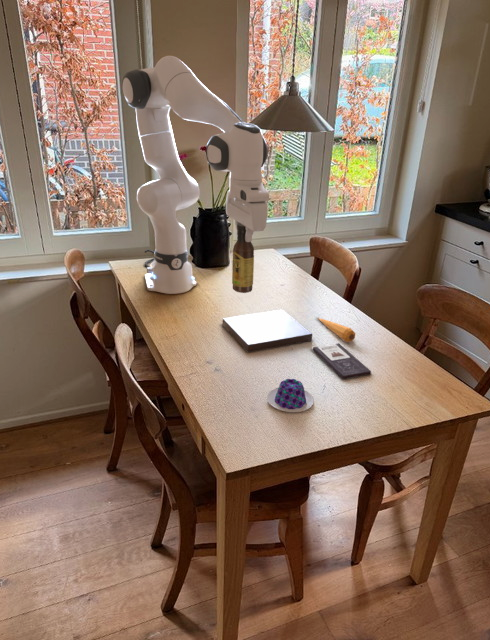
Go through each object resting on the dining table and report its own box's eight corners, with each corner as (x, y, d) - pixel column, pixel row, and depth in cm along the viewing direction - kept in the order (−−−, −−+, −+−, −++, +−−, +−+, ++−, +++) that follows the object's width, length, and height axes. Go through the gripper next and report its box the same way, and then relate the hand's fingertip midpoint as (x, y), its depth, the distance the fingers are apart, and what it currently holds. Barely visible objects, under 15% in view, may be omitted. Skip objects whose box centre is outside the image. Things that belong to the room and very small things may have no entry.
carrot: (354, 345, 168) (359, 331, 167) (343, 342, 165) (349, 328, 164) (319, 325, 184) (324, 313, 183) (309, 322, 181) (314, 310, 180)
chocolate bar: (343, 376, 147) (313, 347, 161) (342, 379, 147) (312, 350, 161) (370, 371, 150) (338, 343, 164) (370, 374, 151) (338, 346, 165)
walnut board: (222, 325, 173) (222, 318, 172) (281, 316, 182) (282, 309, 181) (248, 352, 158) (248, 344, 157) (311, 340, 167) (312, 333, 166)
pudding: (323, 406, 135) (325, 389, 133) (284, 419, 129) (285, 401, 127) (295, 384, 144) (297, 367, 141) (257, 395, 138) (258, 378, 135)
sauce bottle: (230, 287, 162) (230, 221, 153) (250, 286, 164) (252, 220, 154) (234, 294, 157) (235, 226, 147) (255, 293, 158) (257, 226, 149)
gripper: (220, 182, 152) (220, 230, 159) (250, 197, 137) (248, 250, 144) (240, 181, 155) (239, 228, 162) (272, 196, 139) (269, 248, 146)
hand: (244, 238), depth 153 cm, fingers closed on sauce bottle, 4 cm apart
